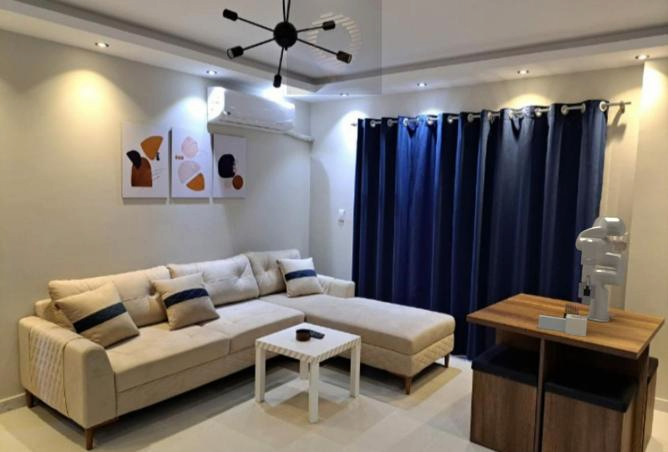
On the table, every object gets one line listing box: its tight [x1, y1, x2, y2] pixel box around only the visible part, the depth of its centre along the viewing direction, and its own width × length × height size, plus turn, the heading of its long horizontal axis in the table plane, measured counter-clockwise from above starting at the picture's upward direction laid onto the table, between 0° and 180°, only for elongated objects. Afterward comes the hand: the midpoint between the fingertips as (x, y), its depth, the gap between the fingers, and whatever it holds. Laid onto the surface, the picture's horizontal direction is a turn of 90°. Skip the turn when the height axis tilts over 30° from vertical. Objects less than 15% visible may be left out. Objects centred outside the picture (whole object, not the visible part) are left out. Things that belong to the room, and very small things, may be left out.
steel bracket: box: [577, 282, 596, 306], centre depth 261 cm, size 3×8×11 cm, turn 63°
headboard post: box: [537, 314, 588, 338], centre depth 267 cm, size 9×24×9 cm, turn 62°
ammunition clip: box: [563, 301, 579, 319], centre depth 282 cm, size 11×2×12 cm, turn 14°
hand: (586, 295), depth 261 cm, fingers closed on steel bracket, 3 cm apart
